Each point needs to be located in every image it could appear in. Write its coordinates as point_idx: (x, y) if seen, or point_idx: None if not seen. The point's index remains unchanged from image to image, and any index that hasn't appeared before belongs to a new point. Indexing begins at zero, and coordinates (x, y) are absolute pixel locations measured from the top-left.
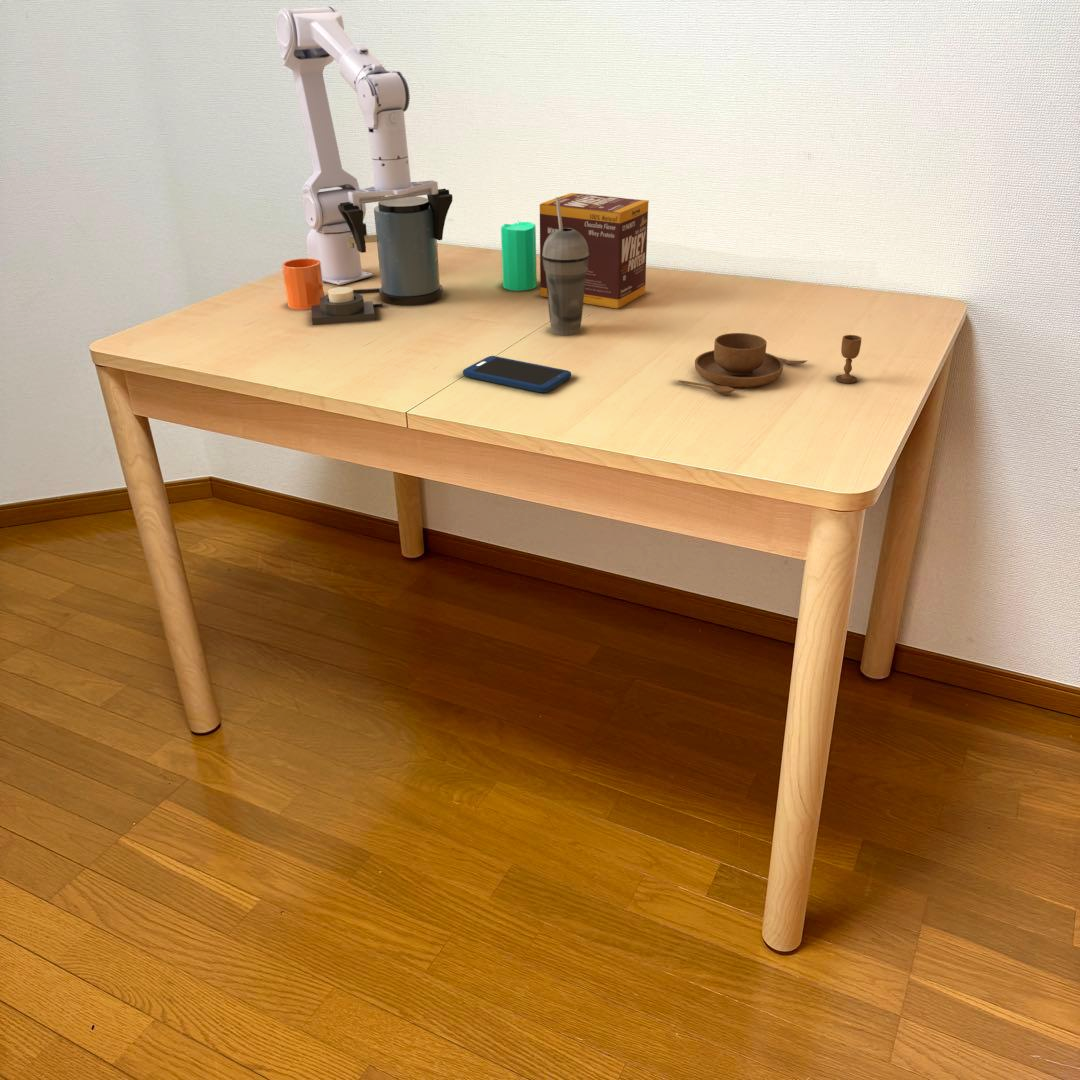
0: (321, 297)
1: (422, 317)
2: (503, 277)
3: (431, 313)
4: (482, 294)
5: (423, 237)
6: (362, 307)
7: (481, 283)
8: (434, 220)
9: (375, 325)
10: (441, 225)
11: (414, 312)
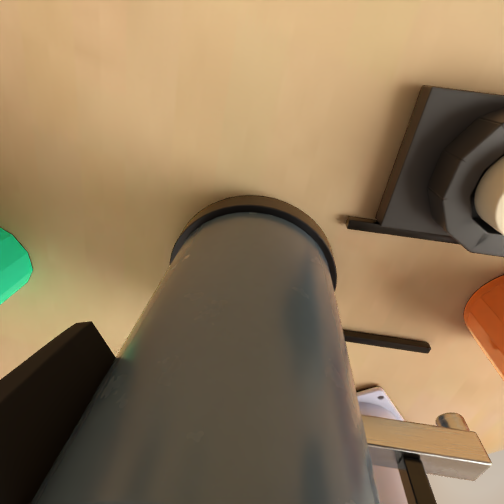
0: (500, 296)
1: (264, 65)
2: (10, 271)
3: (228, 101)
4: (78, 227)
5: (156, 343)
6: (456, 144)
7: (85, 302)
8: (55, 437)
9: (445, 23)
10: (16, 377)
11: (276, 133)
